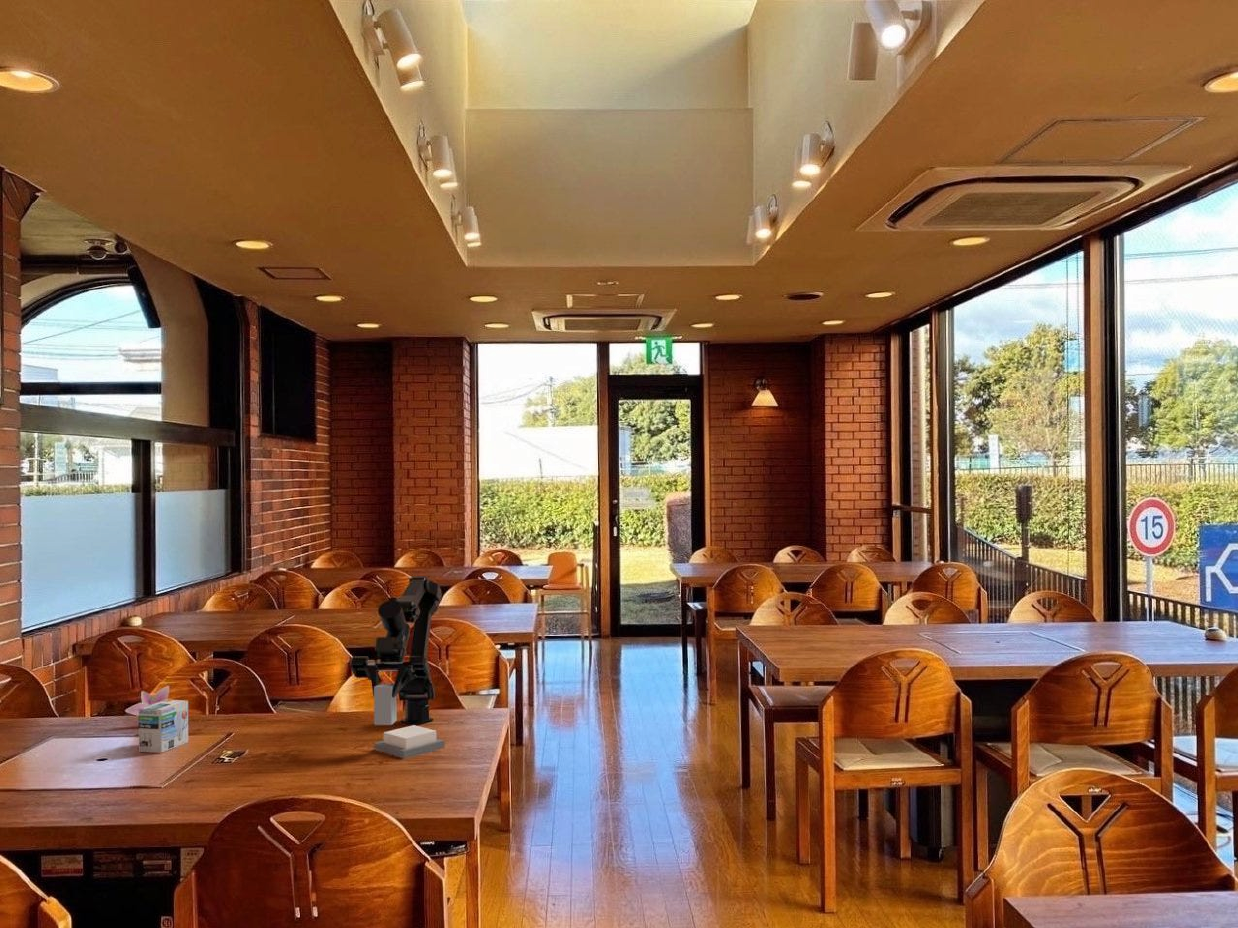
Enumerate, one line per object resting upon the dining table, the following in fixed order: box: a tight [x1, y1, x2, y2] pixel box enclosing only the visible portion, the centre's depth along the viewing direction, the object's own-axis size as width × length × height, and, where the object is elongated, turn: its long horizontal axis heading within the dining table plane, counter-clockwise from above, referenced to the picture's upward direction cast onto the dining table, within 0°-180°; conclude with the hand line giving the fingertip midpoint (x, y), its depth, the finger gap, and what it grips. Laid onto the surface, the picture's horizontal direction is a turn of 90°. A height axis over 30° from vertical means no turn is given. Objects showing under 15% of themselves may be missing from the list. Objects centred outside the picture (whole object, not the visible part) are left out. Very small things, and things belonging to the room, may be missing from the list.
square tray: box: [373, 737, 446, 760], centre depth 233 cm, size 12×12×2 cm
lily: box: [124, 685, 170, 717], centre depth 262 cm, size 12×12×10 cm
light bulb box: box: [138, 699, 189, 754], centre depth 239 cm, size 11×7×11 cm, turn 168°
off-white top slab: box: [383, 724, 437, 749], centre depth 233 cm, size 9×9×2 cm
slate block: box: [373, 683, 398, 726], centre depth 231 cm, size 4×4×9 cm
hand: (383, 696), depth 230 cm, fingers closed on slate block, 4 cm apart
